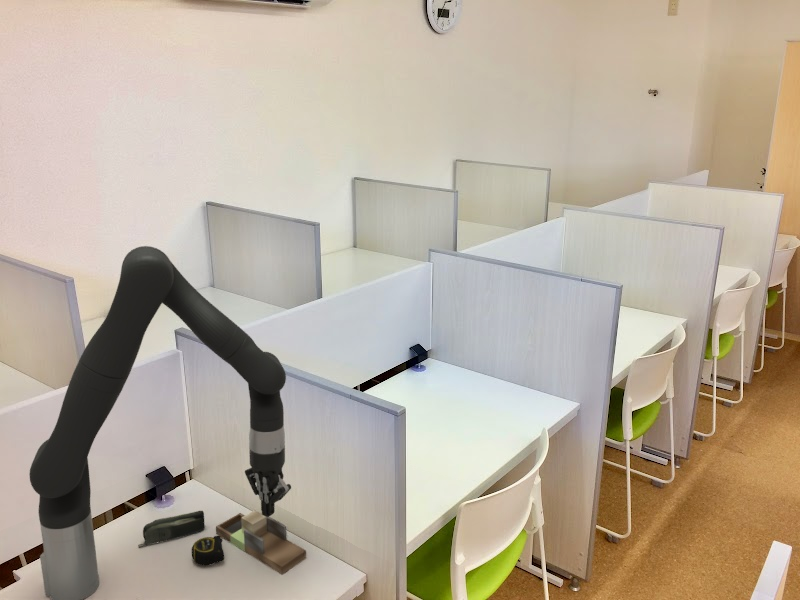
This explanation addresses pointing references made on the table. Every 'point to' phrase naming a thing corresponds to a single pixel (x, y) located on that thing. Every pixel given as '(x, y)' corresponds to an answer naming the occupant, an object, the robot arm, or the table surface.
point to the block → (254, 523)
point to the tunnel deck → (266, 544)
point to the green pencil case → (173, 527)
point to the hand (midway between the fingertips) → (267, 514)
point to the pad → (238, 539)
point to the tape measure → (208, 551)
